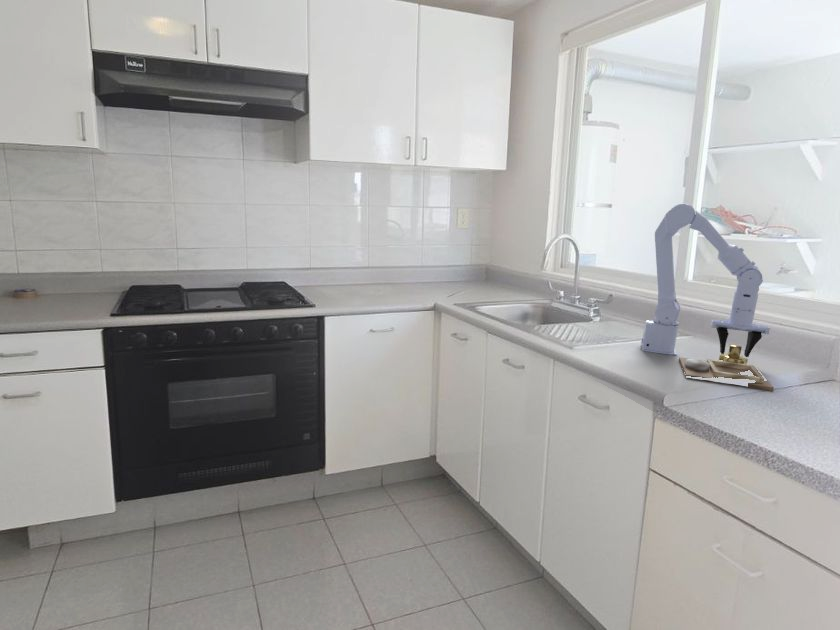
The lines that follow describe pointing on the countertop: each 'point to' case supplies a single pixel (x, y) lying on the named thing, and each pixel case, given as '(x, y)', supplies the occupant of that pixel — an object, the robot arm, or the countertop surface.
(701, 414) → the countertop surface
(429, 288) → the countertop surface
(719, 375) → the carrier board
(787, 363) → the countertop surface
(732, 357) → the planet gear
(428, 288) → the countertop surface
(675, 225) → the robot arm
